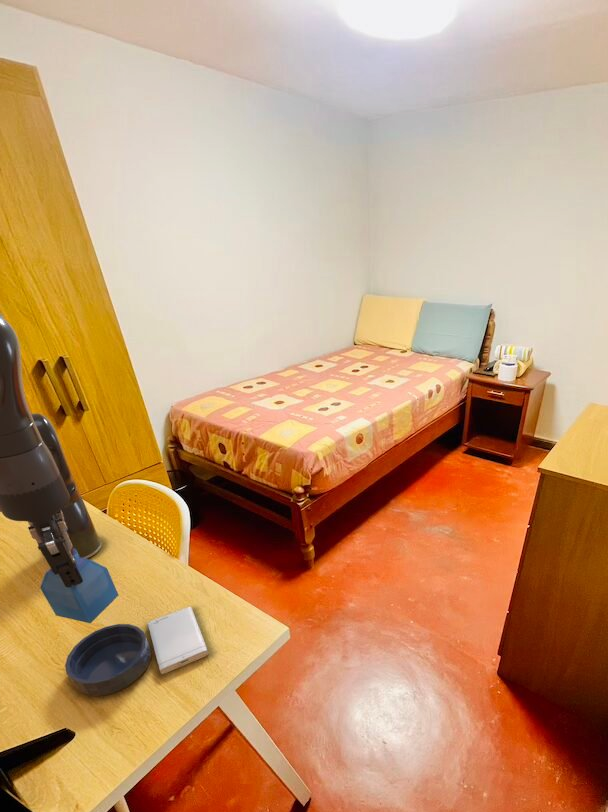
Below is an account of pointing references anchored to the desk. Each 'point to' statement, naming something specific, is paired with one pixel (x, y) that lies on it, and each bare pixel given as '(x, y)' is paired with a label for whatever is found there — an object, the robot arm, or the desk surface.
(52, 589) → the perfume bottle
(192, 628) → the hard drive
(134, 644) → the bowl
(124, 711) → the desk surface
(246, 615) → the desk surface
